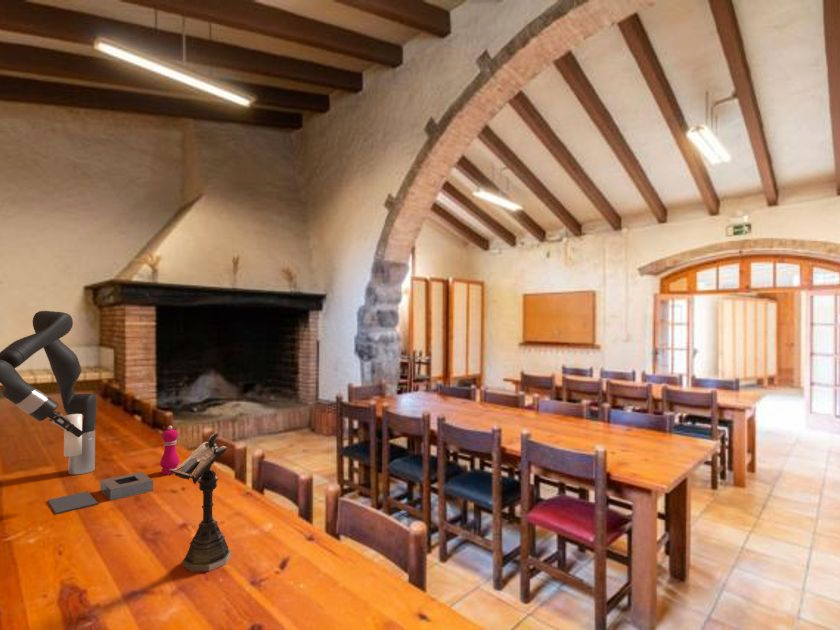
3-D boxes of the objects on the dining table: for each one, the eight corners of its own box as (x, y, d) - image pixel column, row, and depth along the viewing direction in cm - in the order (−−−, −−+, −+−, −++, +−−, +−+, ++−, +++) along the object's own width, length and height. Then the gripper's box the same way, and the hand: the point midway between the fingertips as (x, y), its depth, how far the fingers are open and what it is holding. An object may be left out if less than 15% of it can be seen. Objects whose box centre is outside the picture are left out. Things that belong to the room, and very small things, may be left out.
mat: (47, 501, 171) (47, 499, 171) (87, 492, 180) (87, 491, 180) (55, 514, 160) (55, 512, 160) (98, 504, 169) (98, 502, 169)
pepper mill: (171, 475, 199) (171, 428, 200) (156, 474, 201) (156, 427, 201) (183, 470, 207) (183, 424, 207) (168, 469, 208) (168, 423, 208)
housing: (100, 490, 182) (100, 480, 182) (141, 481, 192) (141, 471, 192) (110, 500, 173) (110, 489, 173) (152, 490, 183) (152, 480, 183)
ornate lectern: (182, 587, 118) (183, 445, 118) (157, 570, 125) (158, 437, 126) (242, 560, 131) (243, 432, 131) (216, 546, 139) (217, 426, 139)
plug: (62, 454, 170) (62, 415, 170) (80, 451, 174) (80, 413, 174) (65, 457, 167) (65, 417, 167) (83, 454, 170) (83, 415, 170)
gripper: (50, 398, 160) (93, 428, 169) (43, 393, 170) (83, 422, 179) (30, 416, 156) (74, 446, 165) (24, 410, 166) (66, 438, 175)
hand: (79, 433), depth 172 cm, fingers closed on plug, 5 cm apart
